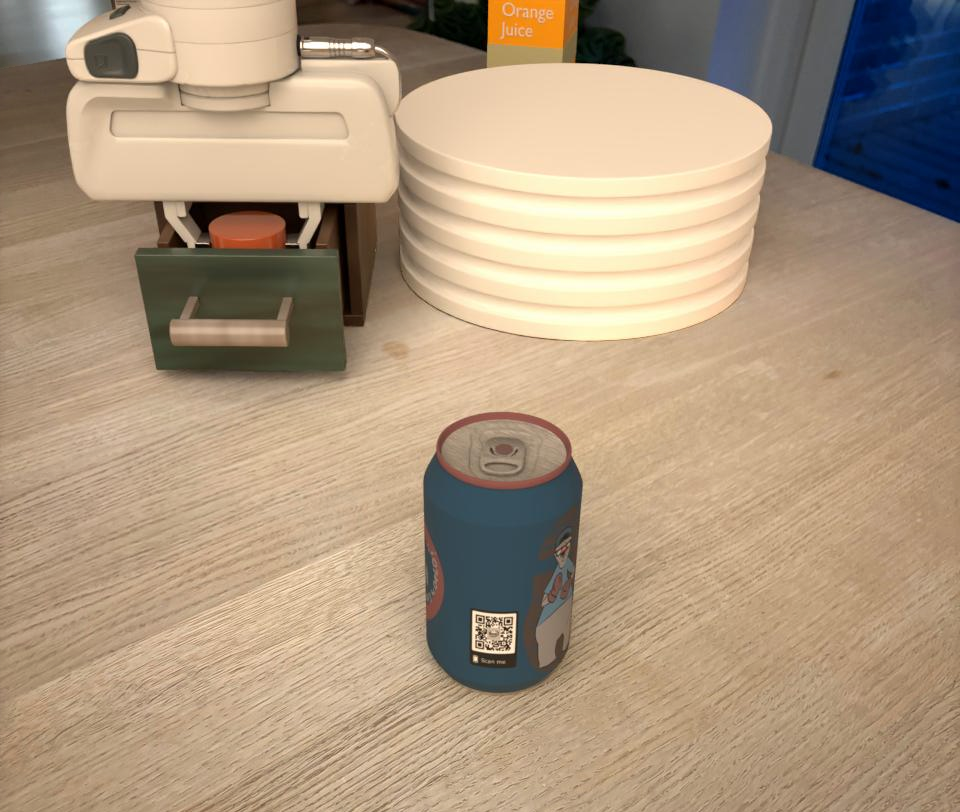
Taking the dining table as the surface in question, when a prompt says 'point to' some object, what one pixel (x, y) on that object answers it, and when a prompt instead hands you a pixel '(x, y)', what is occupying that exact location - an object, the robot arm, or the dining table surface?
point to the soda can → (500, 550)
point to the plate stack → (578, 198)
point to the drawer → (247, 297)
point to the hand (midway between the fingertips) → (251, 264)
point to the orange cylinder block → (248, 231)
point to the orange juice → (531, 32)
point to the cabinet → (358, 253)
